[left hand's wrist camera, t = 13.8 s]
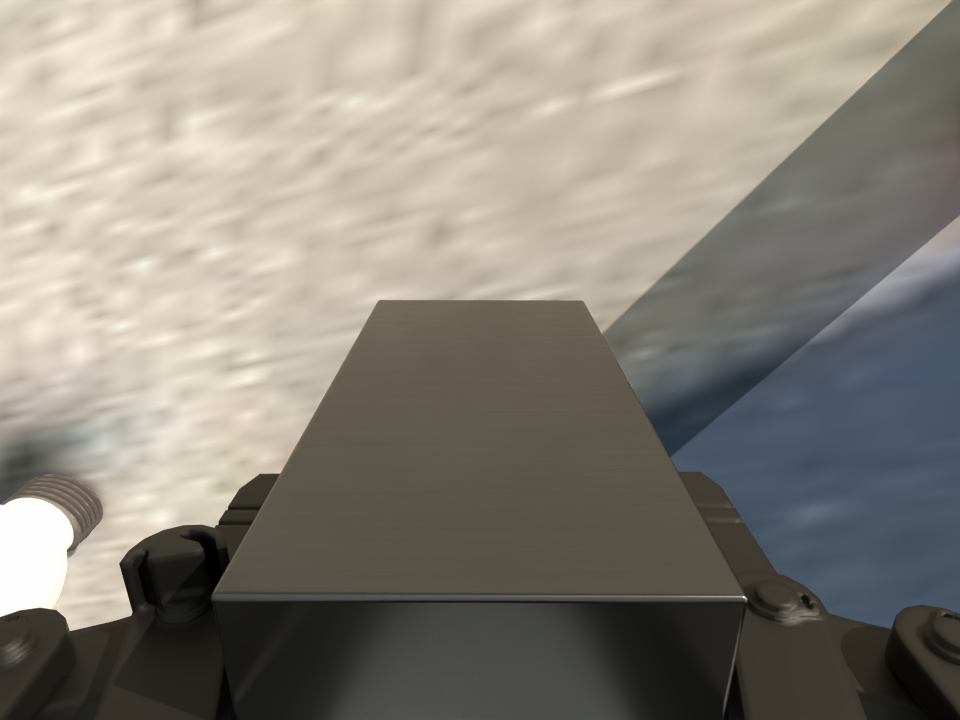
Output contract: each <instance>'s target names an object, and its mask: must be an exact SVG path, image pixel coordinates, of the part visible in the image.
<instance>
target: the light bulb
mask: <svg viewBox="0 0 960 720" xmlns="http://www.w3.org/2000/svg"><path fill="white" fill-rule="evenodd" d="M102 516H103V508H102V505H101V502H100V500H99V499H98V497H97V496H96V494H95V493H94V492H93V491H92V490H91V489H90V488H88V487H87V486H86V485H84V484H83V483H81V482H79V481H77V480H75V479H72V478H70V477H67V476H62V475H57V474H46V475H41V476H38V477H35V478H33V479H32V480H30V481H29V482H28V483H27V484H25V485H24V486H23V487H22V488H21V489H19V490H18V491H17V492H16V493H14V494H13V495H12V496H11V497H9V498H8V499H7V500H6V501H4V502H3V503H2V504H1V505H0V617H1V616H4V615H7V614H10V613H13V612H16V611H19V610H25V609H33V608H46V609H53V607H54V605H55V603H56V601H57V599H58V597H59V595H60V593H61V591H62V588H63V584H64V580H65V576H66V572H67V552H69V551H71V550H73V549H74V548H76V547H77V546H78V545H79V543H81V542H82V541H83V539H84V538H85V537H86V536H87V535H88V534H89V533H90V532H91V531H92V530H93V529H94V528H95V527H96V525H98V524H99V522H100V521H101V519H102Z"/></svg>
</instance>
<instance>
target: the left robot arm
mask: <svg viewBox="0 0 960 720" xmlns="http://www.w3.org/2000/svg"><path fill="white" fill-rule="evenodd" d="M679 474H680V476H681V478H682V479H683V481H684V483H685V485H686V487H687V488H688V490H689V492H690V494H691V496H692V497H693V499H694V501H695V503H696V505H697V506H698V508H699V510H700V512H701V514H702V515H703V517H704V519H705V521H706V523H707V524H708V526H709V528H710V530H711V532H712V533H713V535H714V537H715V539H716V541H717V542H718V544H719V546H720V548H721V550H722V551H723V553H724V555H725V557H726V559H727V560H728V562H729V564H730V566H731V568H732V569H733V571H734V573H735V575H736V577H737V578H738V580H739V582H740V584H741V586H742V587H743V589H744V591H745V593H746V595H747V598H748V604H747V609H746V614H745V618H744V623H743V628H742V633H741V638H740V642H739V647H738V652H737V657H736V661H735V666H734V671H733V676H732V681H731V685H730V690H729V695H728V700H727V704H726V709H725V714H724V719H723V720H960V614H958V613H956V612H953V611H950V610H947V609H944V608H939V607H932V606H924V605H919V606H913V607H907V608H904V609H903V610H902V611H901V612H900V613H898V614H897V615H896V617H895V620H894V623H893V626H892V629H889V628H884V627H880V626H876V625H871V624H867V623H863V622H858V621H854V620H850V619H846V618H842V617H839V616H836V615H833V614H829V613H828V612H827V610H826V609H825V607H824V605H823V604H822V602H821V601H820V599H819V598H818V597H817V596H816V595H815V594H814V593H812V592H811V591H810V590H809V589H808V588H806V587H805V586H804V585H802V584H800V583H798V582H796V581H794V580H792V579H790V578H789V577H787V576H784V575H780V574H777V572H776V571H775V569H774V568H773V566H772V565H771V563H770V562H769V560H768V558H767V557H766V555H765V554H764V552H763V551H762V549H761V548H760V546H759V545H758V543H757V541H756V540H755V538H754V537H753V535H752V534H751V532H750V531H749V529H748V528H747V526H746V525H745V523H742V518H741V517H740V515H739V514H738V512H737V511H736V509H735V508H733V504H732V503H731V501H730V500H729V498H728V497H727V495H726V494H725V492H724V491H723V489H722V487H720V486H719V485H718V484H716V483H715V482H714V481H712V480H711V479H710V478H708V477H707V476H706V475H704V474H703V473H701V472H679ZM279 475H280V474H259V475H258V476H256V477H255V478H254V479H252V480H251V481H250V482H248V483H247V484H246V485H244V486H243V487H242V488H240V489H239V491H238V492H237V494H236V495H235V497H234V498H233V500H232V502H231V503H230V505H229V506H228V510H226V511H225V512H224V514H223V516H222V517H221V519H220V520H219V525H216V526H215V528H212V527H209V526H205V525H183V526H179V527H175V528H171V529H166V530H163V531H161V532H159V533H156V534H154V535H152V536H150V537H148V538H145V539H144V540H142V541H141V542H140V543H138V544H137V545H136V546H134V547H133V548H132V549H130V550H129V551H128V552H127V554H126V555H125V557H124V558H123V559H122V561H121V562H120V563H119V564H120V568H121V571H122V575H123V579H124V582H125V586H126V590H127V593H128V597H129V601H130V604H131V608H132V611H133V613H132V616H129V617H126V618H123V619H120V620H116V621H113V622H108V623H104V624H100V625H95V626H91V627H87V628H83V629H78V630H74V631H69V628H68V624H67V621H66V618H65V617H64V616H62V615H61V614H60V613H59V612H58V611H57V610H52V609H46V608H33V609H25V610H19V611H16V612H13V613H10V614H7V615H4V616H1V617H0V720H236V718H235V713H234V708H233V704H232V699H231V694H230V689H229V684H228V679H227V674H226V670H225V665H224V660H223V655H222V650H221V645H220V640H219V635H218V631H217V626H216V621H215V616H214V611H213V606H212V601H211V597H212V594H213V592H214V590H215V588H216V586H217V584H218V583H219V581H220V579H221V577H222V576H223V574H224V572H225V570H226V569H227V567H228V565H229V563H230V562H231V560H232V558H233V556H234V555H235V553H236V551H237V549H238V547H239V546H240V544H241V542H242V540H243V539H244V537H245V535H246V533H247V532H248V530H249V528H250V526H251V525H252V523H253V521H254V519H255V517H256V516H257V514H258V512H259V510H260V509H261V507H262V505H263V503H264V502H265V500H266V498H267V496H268V495H269V493H270V491H271V489H272V487H273V486H274V484H275V482H276V480H277V479H278V477H279Z"/></svg>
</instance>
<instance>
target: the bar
mask: <svg viewBox="0 0 960 720" xmlns="http://www.w3.org/2000/svg"><path fill="white" fill-rule="evenodd" d="M211 601H212V606H213V611H214V616H215V621H216V626H217V631H218V635H219V640H220V645H221V650H222V655H223V660H224V665H225V670H226V674H227V679H228V684H229V689H230V694H231V699H232V704H233V708H234V713H235V718H236V720H723V719H724V714H725V709H726V704H727V700H728V695H729V690H730V685H731V681H732V676H733V671H734V666H735V661H736V657H737V652H738V647H739V642H740V638H741V633H742V628H743V623H744V618H745V614H746V609H747V604H748V598H747V595H746V593H745V591H744V589H743V587H742V586H741V584H740V582H739V580H738V578H737V577H736V575H735V573H734V571H733V569H732V568H731V566H730V564H729V562H728V560H727V559H726V557H725V555H724V553H723V551H722V550H721V548H720V546H719V544H718V542H717V541H716V539H715V537H714V535H713V533H712V532H711V530H710V528H709V526H708V524H707V523H706V521H705V519H704V517H703V515H702V514H701V512H700V510H699V508H698V506H697V505H696V503H695V501H694V499H693V497H692V496H691V494H690V492H689V490H688V488H687V487H686V485H685V483H684V481H683V479H682V478H681V476H680V474H679V472H678V470H677V469H676V467H675V465H674V463H673V461H672V460H671V458H670V456H669V454H668V452H667V451H666V449H665V447H664V445H663V443H662V442H661V440H660V438H659V436H658V434H657V433H656V431H655V429H654V427H653V426H652V424H651V422H650V420H649V418H648V417H647V415H646V413H645V411H644V409H643V408H642V406H641V404H640V402H639V400H638V399H637V397H636V395H635V393H634V391H633V390H632V388H631V386H630V384H629V382H628V381H627V379H626V377H625V375H624V373H623V372H622V370H621V368H620V366H619V364H618V363H617V361H616V359H615V357H614V355H613V354H612V352H611V350H610V348H609V346H608V345H607V343H606V341H605V339H604V337H603V336H602V334H601V332H600V330H599V328H598V327H597V325H596V323H595V321H594V319H593V318H592V316H591V314H590V312H589V310H588V309H587V307H586V305H585V303H584V301H511V300H379V301H378V302H377V304H376V306H375V308H374V309H373V311H372V313H371V315H370V316H369V318H368V320H367V322H366V323H365V325H364V327H363V329H362V331H361V332H360V334H359V336H358V338H357V339H356V341H355V343H354V345H353V346H352V348H351V350H350V352H349V353H348V355H347V357H346V359H345V361H344V362H343V364H342V366H341V368H340V369H339V371H338V373H337V375H336V376H335V378H334V380H333V382H332V383H331V385H330V387H329V389H328V390H327V392H326V394H325V396H324V398H323V399H322V401H321V403H320V405H319V406H318V408H317V410H316V412H315V413H314V415H313V417H312V419H311V420H310V422H309V424H308V426H307V428H306V429H305V431H304V433H303V435H302V436H301V438H300V440H299V442H298V443H297V445H296V447H295V449H294V450H293V452H292V454H291V456H290V458H289V459H288V461H287V463H286V465H285V466H284V468H283V470H282V472H281V473H280V475H279V477H278V479H277V480H276V482H275V484H274V486H273V487H272V489H271V491H270V493H269V495H268V496H267V498H266V500H265V502H264V503H263V505H262V507H261V509H260V510H259V512H258V514H257V516H256V517H255V519H254V521H253V523H252V525H251V526H250V528H249V530H248V532H247V533H246V535H245V537H244V539H243V540H242V542H241V544H240V546H239V547H238V549H237V551H236V553H235V555H234V556H233V558H232V560H231V562H230V563H229V565H228V567H227V569H226V570H225V572H224V574H223V576H222V577H221V579H220V581H219V583H218V584H217V586H216V588H215V590H214V592H213V594H212V597H211Z"/></svg>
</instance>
